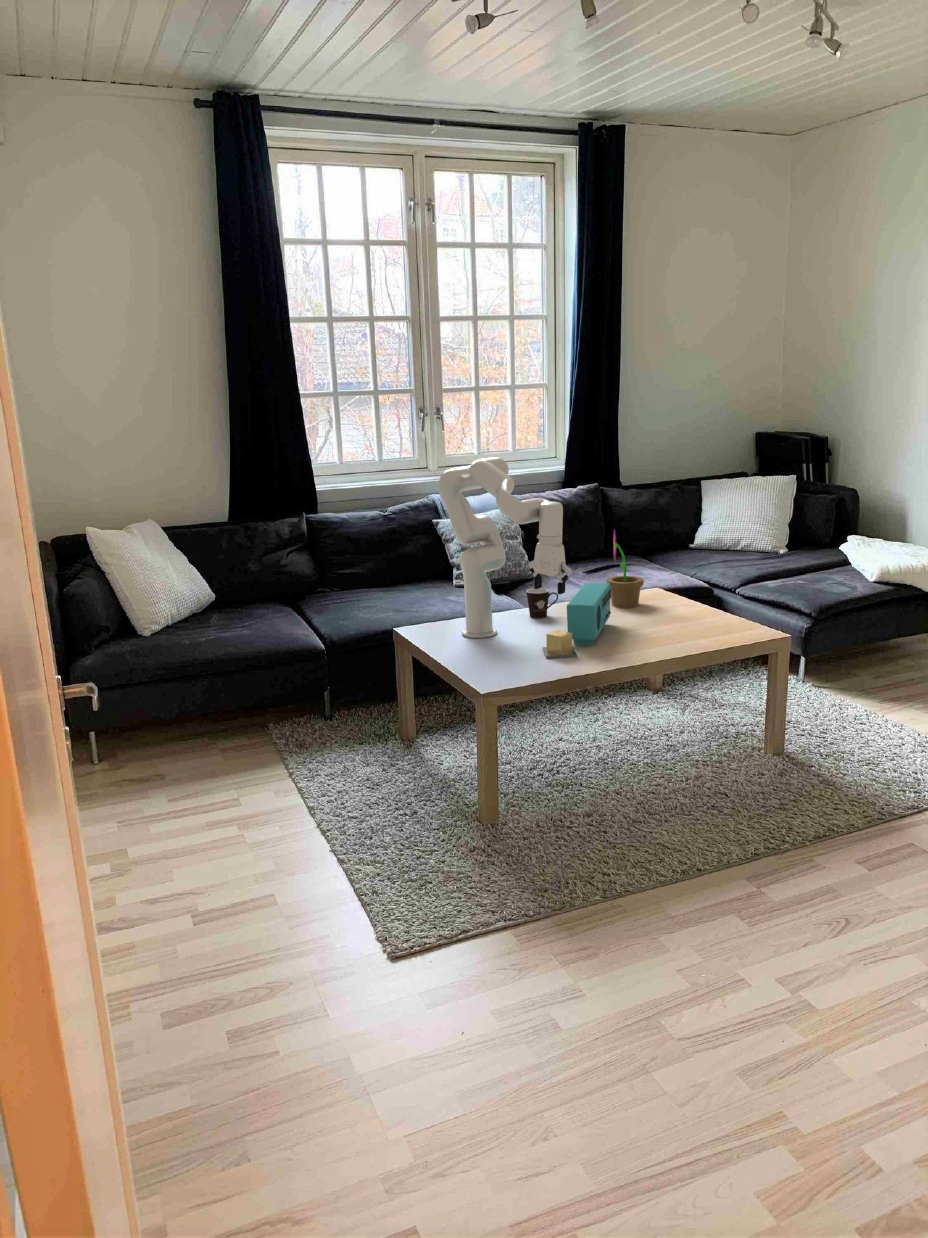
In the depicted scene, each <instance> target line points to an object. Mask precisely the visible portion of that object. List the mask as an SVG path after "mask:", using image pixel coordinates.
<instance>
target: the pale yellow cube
mask: <svg viewBox="0 0 928 1238" xmlns="http://www.w3.org/2000/svg"><path fill="white" fill-rule="evenodd" d="M572 646H573V639H572V632H568V631H567V630H560V629H557V630H556V629H555V630H554V631H550V632H548V633H546V647H547V651H548V652H552V653H557V654H563V653H566V652H568V651H571V650H572Z"/></svg>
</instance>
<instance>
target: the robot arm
mask: <svg viewBox="0 0 928 1238" xmlns="http://www.w3.org/2000/svg"><path fill="white" fill-rule="evenodd" d="M509 472H510V471H509V465H508V463H507V462H506V461H505V459H503V458H501V457H499V456H493V457H486V458H479V459H477V460H475V461H473V462H471V464H470V465H466V466H459V467H458V466H457V467H453V468H450V469H446V470H445V471H444V472H442V474H441V475H440V477H439V479H438V485H437V486H438V487H437V488H438V494H439V497H440V499H441V500H442V503H443V506H444V507H445V510H446V511H447V514H448V518H449V520H450V523H451V527H452V530H453V532H454V534H455V537H456V538H455V539H457V542H458V543H459V544H461V545H463V546H469V545H475V544H479V543H480V545H478V546H474V547H469V548H468V549H465V550H464V551H463V552H462V553H461V555H460V562H459V563H460V568H461V573H462V576H463V586H464V587H463V589H464V604H465V605H464V606H465V607H464V610H465V628H464V629H462V630H461V633H462V636H463V637H466V638H470V639H471V638H472V639H484V638H489V637H490V638H491V637H493V636H495V635H497V633H498V629H497V628H495V627H494V626H493V607H492V605H493V604H492V584H491V580H490V579H489V577H488V576H487V573H488V572H492V571H496V570H500V569H501V568H502V567H504V565H505V563H506V559H507V556H506V551H505V548H504V544H503V542H502V539H501V536H500V532H499V529H498V527H497V525H496V523H495V521H494V520H493V518H492V517H490V516H488V515H486V514H480V515H475V514H474V512H473V509H472V505H471V503H470V502H469V501H468V499H467V498H466V497H465V496H464V495H463V494H462V492H466V491H467V492H468V491H472V490H473V491H474V490H478V489H482V488H483V490H485V491H487V492H488V493H489V494H490V495H492V496H493V497H494V498H495V502H496V505H497V508H498V510H499V511H500V513H502V514H503V515H504V516H505V517H507V519H509V520H511V521H512V522H513V523H514V524H515V523H516V524H517V525H526V524H529V523H536V522H539V523H538V525H539V526H538V534H536V539H538V542H537V543H536V546H535V550H534V558H533V560H531V561H529V562H528V567H529V570H530V572H531V574H532V577H533V578H534V580H533V584H534V589H539V588H543V587H542V586H543V577H542V576H543V575H544V576H548V577H556V578H557V580H558V581H559V582H557V594H558V596H559V595H563V594H565V593H566V582H568V579H570V578H571V575H572V573H573V570H572V569H571V568H570V567H569V566H567V564H566V553H565V546H564V544H563V525H564V524H563V519H564V517H563V516H564V507H563V503H561V502H559V501H550V500H548V499H545V498H542V497H537V498H536V497H535V498H529V499H524V500H519V499H518V498H515V496H513V495H512V492H513V490H514V488H515V481H514V478H512V477H511V476H510V475H509Z"/></svg>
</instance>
